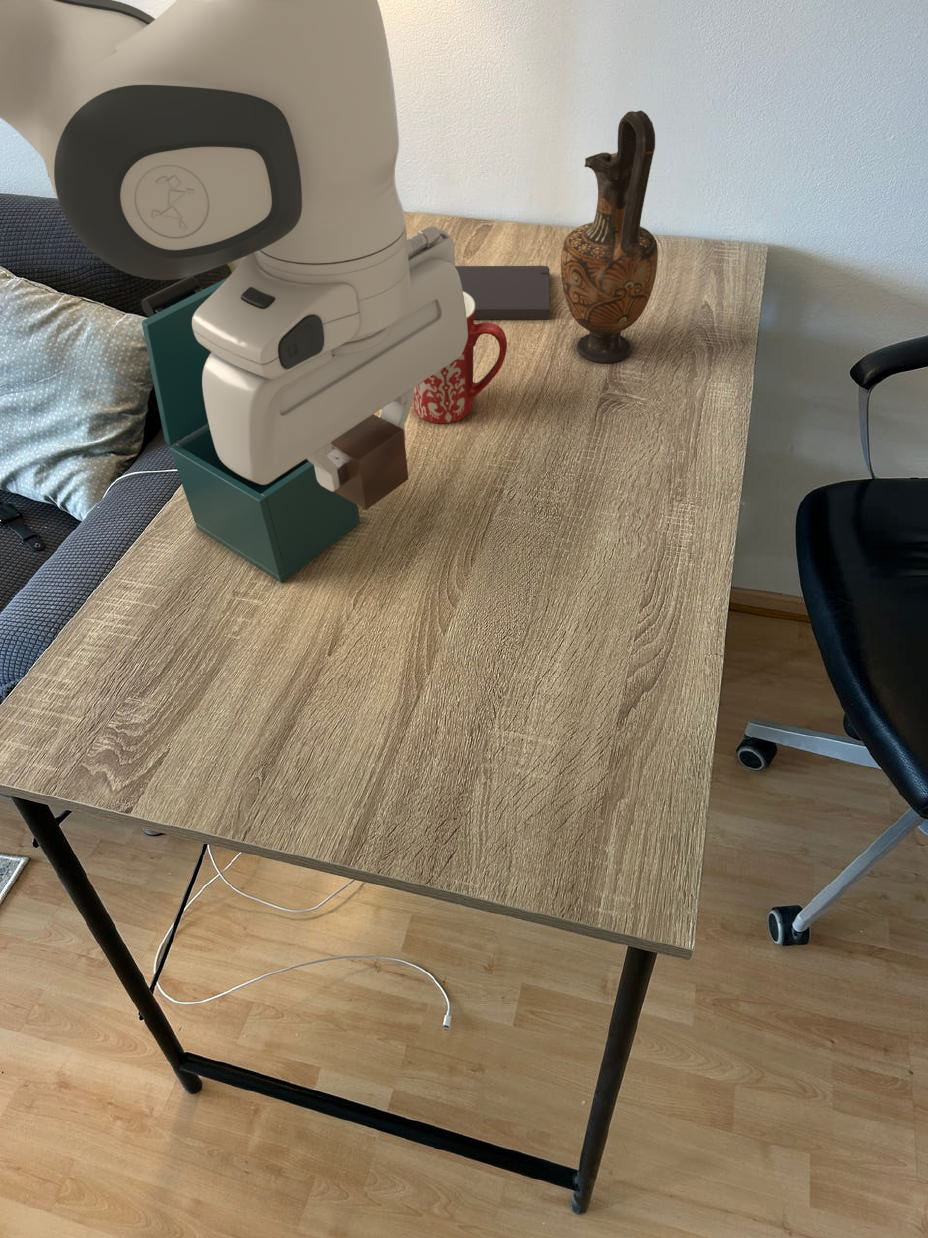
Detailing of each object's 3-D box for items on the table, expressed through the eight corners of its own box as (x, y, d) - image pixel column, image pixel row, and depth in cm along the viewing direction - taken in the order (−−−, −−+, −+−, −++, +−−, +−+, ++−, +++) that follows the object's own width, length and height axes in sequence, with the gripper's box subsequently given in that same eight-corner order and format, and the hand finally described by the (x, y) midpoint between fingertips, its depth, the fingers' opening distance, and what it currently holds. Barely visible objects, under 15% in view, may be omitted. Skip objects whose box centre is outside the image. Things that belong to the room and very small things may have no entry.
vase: (623, 320, 123) (648, 76, 101) (664, 366, 115) (701, 112, 93) (543, 336, 121) (552, 91, 99) (580, 385, 113) (598, 129, 91)
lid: (249, 273, 83) (211, 246, 84) (147, 325, 77) (108, 296, 78) (258, 392, 95) (225, 367, 96) (170, 445, 89) (136, 418, 90)
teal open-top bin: (360, 523, 97) (347, 441, 89) (281, 583, 91) (259, 501, 83) (276, 474, 103) (256, 394, 95) (196, 528, 97) (169, 447, 89)
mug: (395, 422, 109) (384, 320, 99) (420, 382, 115) (412, 281, 105) (494, 438, 106) (493, 335, 96) (515, 396, 112) (516, 295, 102)
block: (366, 510, 63) (359, 460, 59) (322, 485, 65) (313, 435, 61) (408, 479, 65) (403, 428, 62) (365, 456, 67) (358, 406, 64)
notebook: (397, 319, 126) (549, 319, 124) (395, 308, 124) (549, 308, 123) (406, 275, 134) (549, 275, 133) (405, 265, 133) (549, 265, 132)
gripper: (414, 203, 60) (427, 383, 70) (166, 330, 50) (223, 518, 60) (487, 228, 57) (489, 411, 67) (239, 368, 47) (286, 559, 57)
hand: (362, 463), depth 64 cm, fingers closed on block, 4 cm apart
